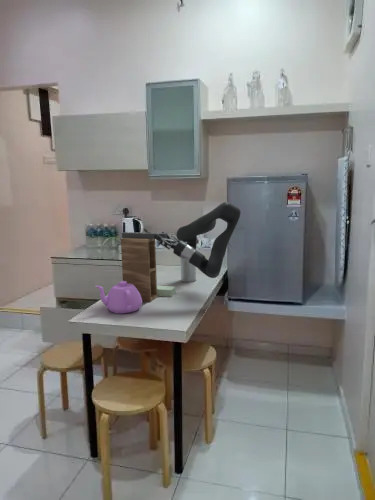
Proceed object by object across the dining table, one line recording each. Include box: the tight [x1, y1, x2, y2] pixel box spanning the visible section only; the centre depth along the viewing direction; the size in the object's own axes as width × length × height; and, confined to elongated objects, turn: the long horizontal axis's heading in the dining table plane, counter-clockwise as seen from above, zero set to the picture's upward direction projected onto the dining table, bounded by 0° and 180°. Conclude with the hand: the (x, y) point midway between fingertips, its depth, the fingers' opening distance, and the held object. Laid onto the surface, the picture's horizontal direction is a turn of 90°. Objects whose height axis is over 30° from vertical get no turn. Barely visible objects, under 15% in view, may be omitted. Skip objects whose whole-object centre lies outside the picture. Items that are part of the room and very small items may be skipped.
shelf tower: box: [120, 237, 158, 303], centre depth 201 cm, size 9×15×32 cm, turn 71°
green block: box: [157, 285, 176, 298], centre depth 211 cm, size 7×16×4 cm, turn 71°
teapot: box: [94, 280, 143, 314], centre depth 185 cm, size 22×22×14 cm
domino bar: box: [121, 231, 168, 240], centre depth 197 cm, size 3×24×3 cm, turn 71°
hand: (158, 234), depth 195 cm, fingers open, 8 cm apart
